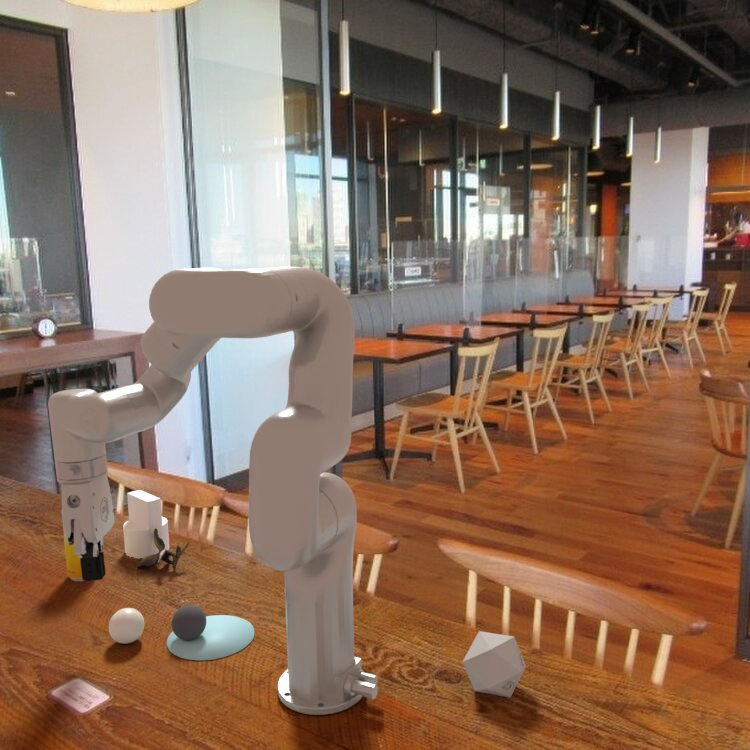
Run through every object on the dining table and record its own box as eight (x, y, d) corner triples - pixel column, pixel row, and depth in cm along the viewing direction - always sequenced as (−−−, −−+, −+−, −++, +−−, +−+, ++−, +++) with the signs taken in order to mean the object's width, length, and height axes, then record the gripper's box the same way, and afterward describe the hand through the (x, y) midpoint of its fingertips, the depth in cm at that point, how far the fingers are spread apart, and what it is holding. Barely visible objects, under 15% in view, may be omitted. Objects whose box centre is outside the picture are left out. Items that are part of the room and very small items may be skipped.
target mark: (271, 626, 123) (271, 625, 123) (217, 669, 111) (217, 667, 111) (206, 609, 130) (206, 608, 130) (148, 647, 117) (147, 646, 117)
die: (494, 719, 99) (536, 662, 99) (444, 675, 102) (484, 619, 102) (503, 706, 107) (543, 653, 106) (456, 665, 110) (494, 613, 110)
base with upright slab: (177, 549, 157) (174, 495, 155) (138, 562, 150) (134, 506, 148) (155, 538, 163) (152, 486, 161) (117, 550, 156) (113, 496, 154)
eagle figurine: (195, 554, 151) (159, 538, 155) (185, 532, 146) (147, 517, 149) (171, 587, 146) (134, 570, 150) (159, 566, 141) (121, 549, 144)
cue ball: (100, 614, 120) (113, 642, 121) (106, 626, 115) (120, 655, 116) (132, 597, 122) (145, 625, 123) (139, 607, 117) (153, 636, 118)
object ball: (173, 639, 121) (206, 641, 121) (166, 639, 116) (201, 641, 116) (177, 604, 123) (210, 606, 123) (170, 603, 118) (205, 604, 118)
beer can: (89, 583, 141) (82, 508, 138) (60, 581, 142) (54, 507, 139) (106, 570, 147) (101, 498, 144) (79, 568, 148) (73, 496, 145)
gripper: (89, 480, 108) (102, 597, 111) (120, 454, 123) (131, 558, 126) (38, 483, 108) (52, 600, 111) (74, 456, 123) (86, 561, 126)
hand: (94, 577), depth 118 cm, fingers closed
